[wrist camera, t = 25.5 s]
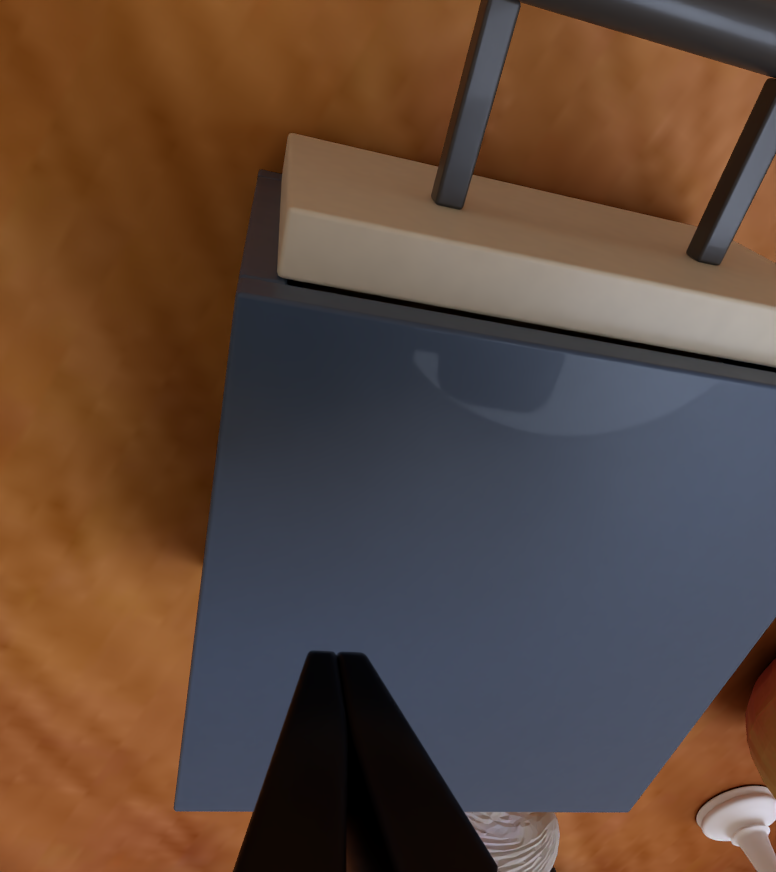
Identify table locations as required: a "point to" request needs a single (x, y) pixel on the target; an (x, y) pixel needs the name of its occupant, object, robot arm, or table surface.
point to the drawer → (548, 212)
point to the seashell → (519, 839)
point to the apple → (763, 726)
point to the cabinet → (475, 541)
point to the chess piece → (743, 822)
